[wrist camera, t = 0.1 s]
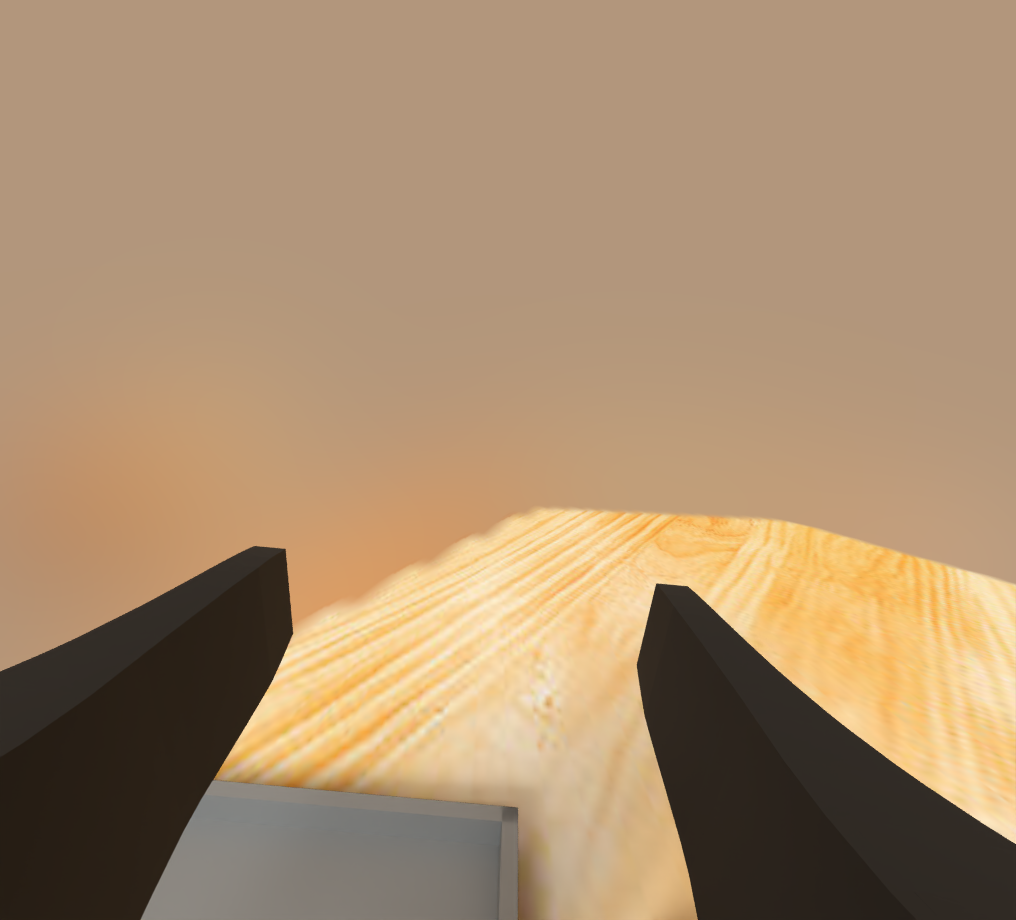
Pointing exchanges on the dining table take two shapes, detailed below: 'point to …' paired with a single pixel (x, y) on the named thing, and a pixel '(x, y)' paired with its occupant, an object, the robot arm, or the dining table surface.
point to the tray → (339, 858)
